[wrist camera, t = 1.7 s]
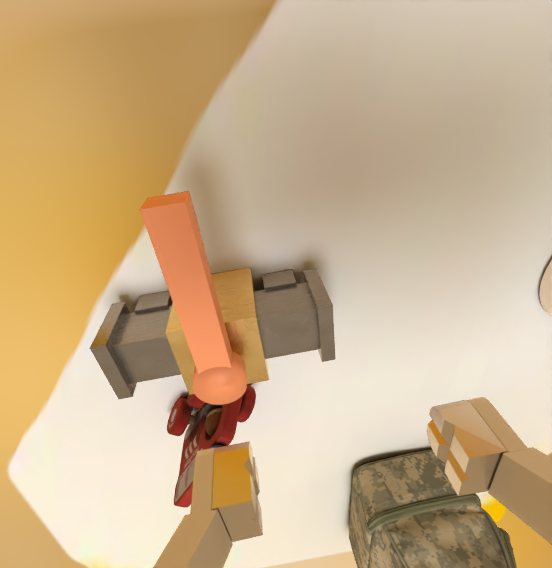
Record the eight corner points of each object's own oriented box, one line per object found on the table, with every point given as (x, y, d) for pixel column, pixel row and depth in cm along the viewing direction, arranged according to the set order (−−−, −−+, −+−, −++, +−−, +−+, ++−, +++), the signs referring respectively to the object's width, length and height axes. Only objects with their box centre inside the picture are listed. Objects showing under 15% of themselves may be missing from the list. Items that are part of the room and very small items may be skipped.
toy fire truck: (263, 371, 41) (273, 453, 32) (213, 432, 45) (210, 518, 36) (210, 350, 38) (205, 434, 29) (163, 417, 43) (146, 506, 34)
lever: (249, 380, 28) (251, 399, 27) (201, 388, 28) (200, 408, 26) (202, 188, 20) (200, 199, 18) (133, 200, 20) (124, 211, 18)
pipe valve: (312, 256, 33) (336, 309, 26) (317, 313, 37) (339, 374, 29) (114, 291, 33) (80, 354, 25) (139, 345, 36) (116, 415, 29)
